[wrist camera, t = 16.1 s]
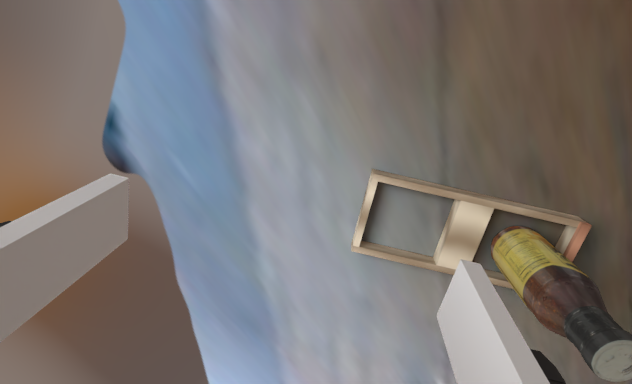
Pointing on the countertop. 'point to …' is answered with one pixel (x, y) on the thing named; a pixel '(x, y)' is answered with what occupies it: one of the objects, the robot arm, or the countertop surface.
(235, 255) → the countertop surface
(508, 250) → the sauce bottle
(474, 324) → the robot arm
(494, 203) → the bottle rack
